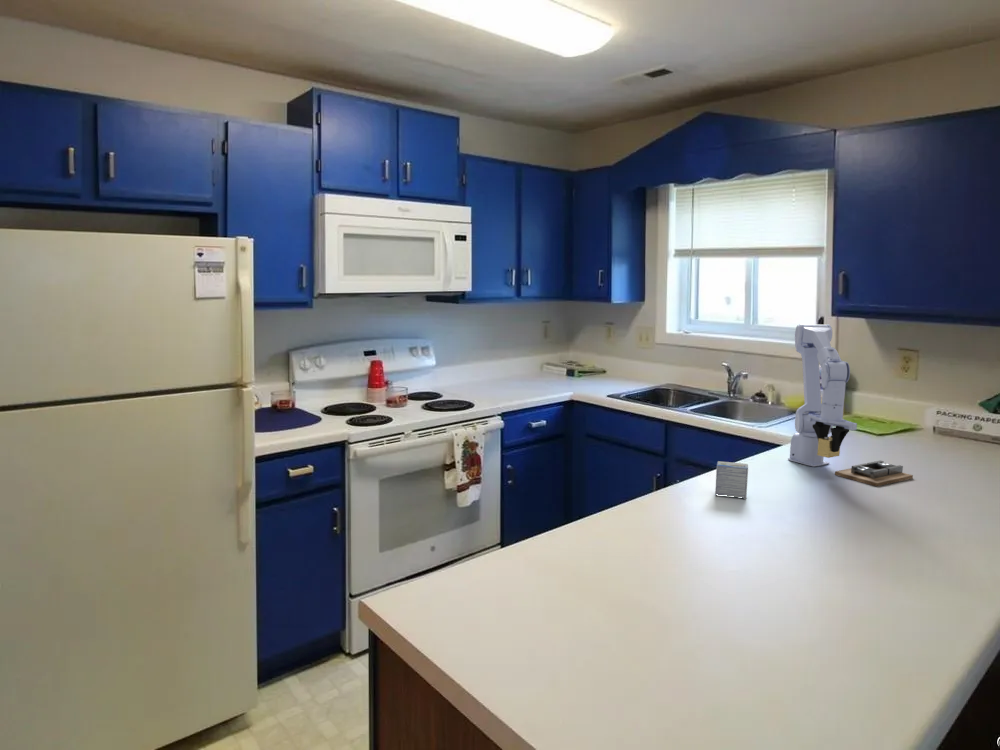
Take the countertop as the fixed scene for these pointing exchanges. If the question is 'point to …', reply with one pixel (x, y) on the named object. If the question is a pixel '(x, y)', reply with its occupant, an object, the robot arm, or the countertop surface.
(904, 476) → the chain board
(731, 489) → the medicine box
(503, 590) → the countertop surface
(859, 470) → the chain end
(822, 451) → the brass block with studs
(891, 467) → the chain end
